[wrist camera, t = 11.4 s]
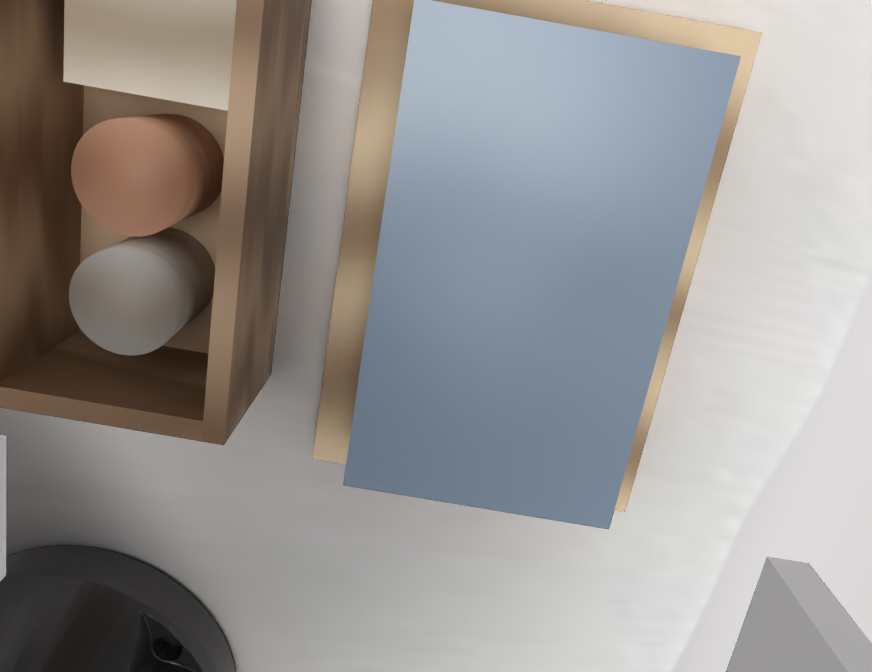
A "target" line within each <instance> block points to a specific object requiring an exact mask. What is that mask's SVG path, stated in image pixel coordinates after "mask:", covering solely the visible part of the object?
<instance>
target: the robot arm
mask: <svg viewBox="0 0 872 672" xmlns="http://www.w3.org/2000/svg"><path fill="white" fill-rule="evenodd" d="M0 672H235V666H234V662H233V658H232V655H231V652H230V649H229V646H228V644H227V642H226V640H225V638H224V636H223V634H222V632H221V630H220V629H219V627H218V625H217V624H216V622H215V621H214V619H213V618H212V617H211V615H210V614H209V613H208V612H207V610H206V609H205V608H204V607H203V606H202V605H201V604H200V603H199V601H198V600H197V599H196V598H194V597H193V596H192V595H191V594H190V593H189V592H188V591H187V590H185V589H184V588H183V587H182V586H181V585H179V584H178V583H176V582H175V581H174V580H172V579H171V578H169V577H168V576H166V575H165V574H163V573H161V572H160V571H158V570H156V569H154V568H152V567H150V566H148V565H146V564H144V563H142V562H140V561H137V560H135V559H132V558H130V557H127V556H124V555H120V554H117V553H114V552H110V551H106V550H101V549H96V548H89V547H80V546H50V547H41V548H35V549H30V550H26V551H22V552H19V553H16V554H13V555H10V556H7V557H6V436H5V435H0ZM726 672H872V643H871V642H870V641H869V639H868V638H867V637H866V636H865V634H864V633H863V632H862V631H861V629H860V628H859V627H858V625H857V624H856V623H855V621H854V620H853V619H852V618H851V616H850V615H849V614H848V613H847V611H846V610H845V609H844V607H843V606H842V605H841V604H840V602H839V601H838V600H837V598H836V597H835V596H834V595H833V593H832V592H831V591H830V589H829V588H828V587H827V586H826V584H825V583H824V582H823V580H822V579H821V578H820V577H819V575H818V574H817V573H816V572H815V570H814V569H813V568H812V566H811V565H810V564H809V563H803V562H797V561H791V560H784V559H778V558H771V557H767V558H766V561H765V564H764V567H763V569H762V572H761V575H760V578H759V580H758V583H757V586H756V589H755V592H754V594H753V597H752V600H751V603H750V606H749V608H748V611H747V614H746V617H745V619H744V622H743V625H742V628H741V631H740V634H739V636H738V639H737V642H736V645H735V647H734V650H733V653H732V656H731V659H730V661H729V664H728V667H727V670H726Z"/></svg>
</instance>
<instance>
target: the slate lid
mask: <svg viewBox="0 0 872 672" xmlns="http://www.w3.org/2000/svg"><path fill="white" fill-rule="evenodd" d="M740 58H741V56H737V55H731V54H726V53H720V52H715V51H709V50H704V49H698V48H693V47H687V46H681V45H676V44H670V43H665V42H659V41H654V40H648V39H643V38H637V37H632V36H626V35H621V34H615V33H609V32H604V31H598V30H593V29H587V28H582V27H576V26H571V25H565V24H560V23H554V22H549V21H543V20H537V19H532V18H526V17H521V16H515V15H510V14H504V13H499V12H493V11H488V10H482V9H477V8H471V7H465V6H460V5H454V4H449V3H443V2H438V1H432V0H414V5H413V12H412V19H411V26H410V32H409V39H408V46H407V53H406V60H405V67H404V73H403V80H402V87H401V94H400V101H399V107H398V114H397V121H396V128H395V135H394V141H393V148H392V155H391V162H390V169H389V176H388V182H387V189H386V196H385V203H384V210H383V216H382V223H381V230H380V237H379V244H378V250H377V257H376V264H375V271H374V278H373V285H372V291H371V298H370V305H369V312H368V319H367V325H366V332H365V339H364V346H363V353H362V359H361V366H360V373H359V380H358V387H357V394H356V400H355V407H354V414H353V421H352V428H351V434H350V441H349V448H348V455H347V462H346V468H345V475H344V482H343V485H345V486H351V487H357V488H363V489H369V490H375V491H381V492H387V493H393V494H399V495H405V496H411V497H417V498H423V499H429V500H435V501H441V502H447V503H453V504H459V505H465V506H471V507H477V508H483V509H489V510H495V511H501V512H507V513H514V514H520V515H526V516H532V517H538V518H544V519H550V520H556V521H562V522H568V523H574V524H580V525H586V526H592V527H598V528H604V529H609V528H610V524H611V521H612V517H613V513H614V510H615V506H616V503H617V499H618V495H619V492H620V488H621V485H622V481H623V478H624V474H625V470H626V467H627V463H628V460H629V456H630V452H631V449H632V445H633V442H634V438H635V435H636V431H637V427H638V424H639V420H640V417H641V413H642V409H643V406H644V402H645V399H646V395H647V392H648V388H649V384H650V381H651V377H652V374H653V370H654V366H655V363H656V359H657V356H658V352H659V349H660V345H661V341H662V338H663V334H664V331H665V327H666V323H667V320H668V316H669V313H670V309H671V306H672V302H673V298H674V295H675V291H676V288H677V284H678V280H679V277H680V273H681V270H682V266H683V262H684V259H685V255H686V252H687V248H688V245H689V241H690V237H691V234H692V230H693V227H694V223H695V219H696V216H697V212H698V209H699V205H700V202H701V198H702V194H703V191H704V187H705V184H706V180H707V176H708V173H709V169H710V166H711V162H712V159H713V155H714V151H715V148H716V144H717V141H718V137H719V133H720V130H721V126H722V123H723V119H724V116H725V112H726V108H727V105H728V101H729V98H730V94H731V90H732V87H733V83H734V80H735V76H736V73H737V69H738V65H739V62H740Z"/></svg>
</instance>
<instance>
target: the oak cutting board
mask: <svg viewBox="0 0 872 672" xmlns="http://www.w3.org/2000/svg"><path fill="white" fill-rule="evenodd" d="M432 1H438V2H443V3H449V4H454V5H460V6H465V7H471V8H477V9H482V10H488V11H493V12H499V13H504V14H510V15H515V16H521V17H526V18H532V19H537V20H543V21H549V22H554V23H560V24H565V25H571V26H576V27H582V28H587V29H593V30H598V31H604V32H609V33H615V34H621V35H626V36H632V37H637V38H643V39H648V40H654V41H659V42H665V43H670V44H676V45H681V46H687V47H693V48H698V49H704V50H709V51H715V52H720V53H726V54H731V55H737V56H741V58H740V62H739V65H738V69H737V73H736V76H735V80H734V83H733V87H732V90H731V94H730V98H729V101H728V105H727V108H726V112H725V116H724V119H723V123H722V126H721V130H720V133H719V137H718V141H717V144H716V148H715V151H714V155H713V159H712V162H711V166H710V169H709V173H708V176H707V180H706V184H705V187H704V191H703V194H702V198H701V202H700V205H699V209H698V212H697V216H696V219H695V223H694V227H693V230H692V234H691V237H690V241H689V245H688V248H687V252H686V255H685V259H684V262H683V266H682V270H681V273H680V277H679V280H678V284H677V288H676V291H675V295H674V298H673V302H672V306H671V309H670V313H669V316H668V320H667V323H666V327H665V331H664V334H663V338H662V341H661V345H660V349H659V352H658V356H657V359H656V363H655V366H654V370H653V374H652V377H651V381H650V384H649V388H648V392H647V395H646V399H645V402H644V406H643V409H642V413H641V417H640V420H639V424H638V427H637V431H636V435H635V438H634V442H633V445H632V449H631V452H630V456H629V460H628V463H627V467H626V470H625V474H624V478H623V481H622V485H621V488H620V492H619V495H618V499H617V503H616V506H615V510H618V511H624V512H625V510H626V507H627V503H628V500H629V497H630V493H631V490H632V486H633V483H634V479H635V476H636V472H637V469H638V465H639V462H640V458H641V455H642V451H643V448H644V444H645V441H646V437H647V434H648V430H649V427H650V423H651V420H652V416H653V413H654V409H655V406H656V402H657V399H658V395H659V392H660V388H661V385H662V381H663V378H664V374H665V371H666V367H667V364H668V360H669V357H670V353H671V350H672V346H673V343H674V339H675V336H676V332H677V329H678V325H679V322H680V318H681V315H682V311H683V308H684V304H685V301H686V297H687V294H688V290H689V287H690V284H691V280H692V277H693V273H694V270H695V266H696V263H697V259H698V256H699V252H700V249H701V245H702V242H703V238H704V235H705V231H706V228H707V224H708V221H709V217H710V214H711V210H712V207H713V203H714V200H715V196H716V193H717V189H718V186H719V182H720V179H721V175H722V172H723V168H724V165H725V161H726V158H727V154H728V151H729V147H730V144H731V140H732V137H733V133H734V130H735V126H736V123H737V119H738V116H739V112H740V109H741V105H742V102H743V98H744V95H745V91H746V88H747V84H748V81H749V77H750V74H751V71H752V67H753V64H754V60H755V57H756V53H757V50H758V46H759V43H760V39H761V36H762V32H756V31H751V30H745V29H740V28H734V27H729V26H724V25H718V24H713V23H707V22H702V21H696V20H691V19H685V18H680V17H674V16H669V15H664V14H658V13H653V12H647V11H642V10H636V9H631V8H625V7H620V6H614V5H609V4H604V3H598V2H593V1H587V0H432ZM413 5H414V0H373V5H372V12H371V20H370V27H369V35H368V42H367V50H366V57H365V65H364V72H363V80H362V88H361V95H360V103H359V110H358V118H357V125H356V133H355V140H354V148H353V155H352V163H351V171H350V178H349V186H348V193H347V201H346V208H345V216H344V223H343V231H342V238H341V246H340V254H339V261H338V269H337V276H336V284H335V291H334V299H333V306H332V314H331V322H330V329H329V337H328V344H327V352H326V359H325V367H324V374H323V382H322V389H321V397H320V405H319V412H318V420H317V427H316V435H315V442H314V450H313V457H312V459H315V460H321V461H327V462H333V463H339V464H345V465H346V462H347V455H348V448H349V441H350V434H351V428H352V421H353V414H354V407H355V400H356V394H357V387H358V380H359V373H360V366H361V359H362V353H363V346H364V339H365V332H366V325H367V319H368V312H369V305H370V298H371V291H372V285H373V278H374V271H375V264H376V257H377V250H378V244H379V237H380V230H381V223H382V216H383V210H384V203H385V196H386V189H387V182H388V176H389V169H390V162H391V155H392V148H393V141H394V135H395V128H396V121H397V114H398V107H399V101H400V94H401V87H402V80H403V73H404V67H405V60H406V53H407V46H408V39H409V32H410V26H411V19H412V12H413Z"/></svg>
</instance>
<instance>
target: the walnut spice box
mask: <svg viewBox="0 0 872 672" xmlns="http://www.w3.org/2000/svg"><path fill="white" fill-rule="evenodd" d="M311 1H312V0H0V407H1V408H7V409H12V410H18V411H24V412H30V413H36V414H42V415H48V416H54V417H60V418H66V419H72V420H78V421H84V422H90V423H96V424H101V425H107V426H113V427H119V428H125V429H131V430H137V431H143V432H149V433H155V434H161V435H167V436H173V437H179V438H185V439H190V440H196V441H202V442H208V443H214V444H220V445H224V444H225V443H226V441H227V440H228V438H229V436H230V435H231V433H232V432H233V430H234V429H235V427H236V426H237V424H238V423H239V421H240V420H241V418H242V417H243V415H244V414H245V412H246V411H247V409H248V408H249V406H250V405H251V403H252V402H253V400H254V399H255V397H256V396H257V394H258V393H259V391H260V390H261V388H262V387H263V385H264V384H265V382H266V381H267V379H268V378H269V376H270V375H271V368H272V359H273V350H274V341H275V332H276V322H277V313H278V304H279V295H280V286H281V276H282V267H283V258H284V249H285V240H286V230H287V221H288V212H289V203H290V194H291V184H292V175H293V166H294V157H295V148H296V139H297V129H298V120H299V111H300V102H301V93H302V83H303V74H304V65H305V56H306V47H307V37H308V28H309V19H310V10H311Z"/></svg>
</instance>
